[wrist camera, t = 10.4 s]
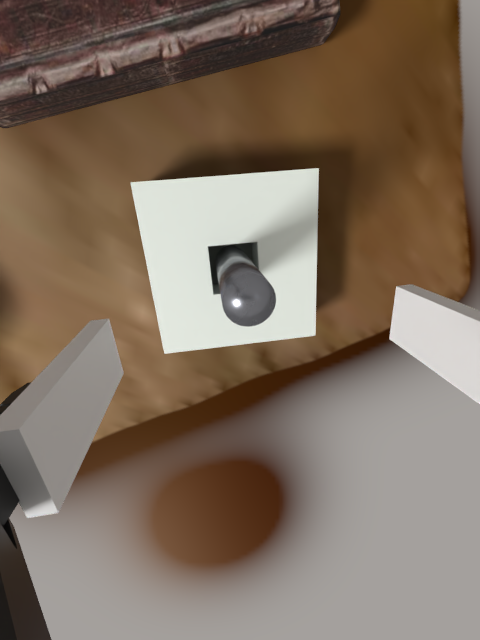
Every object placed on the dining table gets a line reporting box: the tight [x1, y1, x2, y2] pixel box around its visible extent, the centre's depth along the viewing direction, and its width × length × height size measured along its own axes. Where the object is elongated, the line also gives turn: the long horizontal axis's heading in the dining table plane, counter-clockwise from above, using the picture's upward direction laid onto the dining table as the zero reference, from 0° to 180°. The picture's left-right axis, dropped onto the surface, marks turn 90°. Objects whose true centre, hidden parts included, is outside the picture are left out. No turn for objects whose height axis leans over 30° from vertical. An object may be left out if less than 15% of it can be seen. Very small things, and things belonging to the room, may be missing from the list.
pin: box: [215, 246, 276, 327], centre depth 25 cm, size 3×3×14 cm
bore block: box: [131, 168, 319, 354], centre depth 30 cm, size 16×16×5 cm
